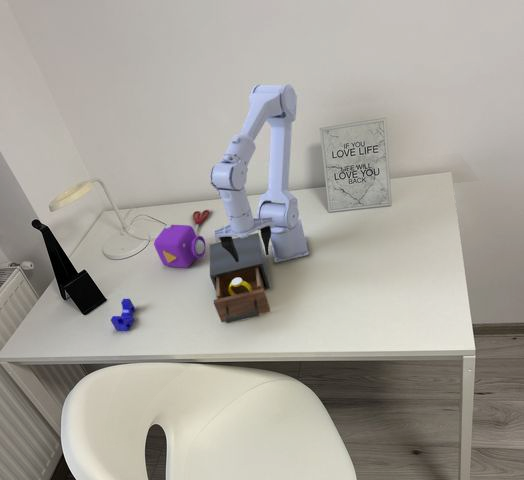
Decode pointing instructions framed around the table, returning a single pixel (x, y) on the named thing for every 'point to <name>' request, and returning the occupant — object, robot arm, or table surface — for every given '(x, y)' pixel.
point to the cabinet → (248, 258)
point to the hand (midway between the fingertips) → (252, 256)
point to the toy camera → (179, 245)
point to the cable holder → (124, 316)
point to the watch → (236, 283)
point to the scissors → (199, 220)
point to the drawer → (241, 296)
